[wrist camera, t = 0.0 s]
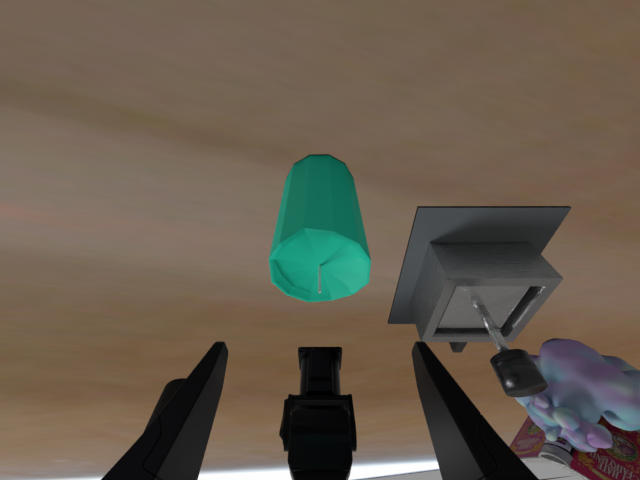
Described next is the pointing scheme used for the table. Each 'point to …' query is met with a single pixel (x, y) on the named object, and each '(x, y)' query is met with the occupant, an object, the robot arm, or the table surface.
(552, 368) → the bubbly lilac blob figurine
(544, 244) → the slate mat
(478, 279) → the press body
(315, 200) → the candle
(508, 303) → the plunger
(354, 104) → the table surface
